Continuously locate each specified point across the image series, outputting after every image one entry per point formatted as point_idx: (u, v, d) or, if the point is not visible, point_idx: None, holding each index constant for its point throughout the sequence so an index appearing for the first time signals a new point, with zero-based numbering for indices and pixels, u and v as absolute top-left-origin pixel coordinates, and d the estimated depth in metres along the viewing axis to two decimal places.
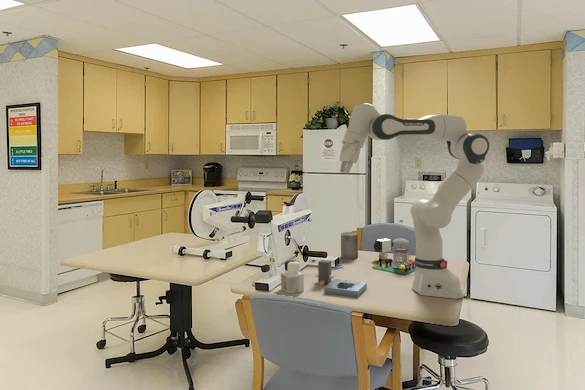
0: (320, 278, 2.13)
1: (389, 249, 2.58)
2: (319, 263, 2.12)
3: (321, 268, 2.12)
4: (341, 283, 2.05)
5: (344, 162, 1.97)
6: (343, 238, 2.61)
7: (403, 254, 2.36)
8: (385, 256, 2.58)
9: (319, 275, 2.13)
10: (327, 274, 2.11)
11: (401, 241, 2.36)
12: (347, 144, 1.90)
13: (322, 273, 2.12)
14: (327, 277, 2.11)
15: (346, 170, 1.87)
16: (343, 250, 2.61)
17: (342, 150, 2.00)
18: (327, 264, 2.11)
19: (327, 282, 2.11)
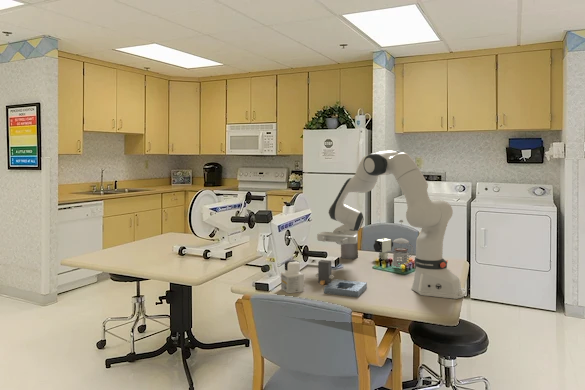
0: (320, 278, 2.13)
1: (389, 249, 2.58)
2: (319, 263, 2.12)
3: (321, 268, 2.12)
4: (341, 283, 2.05)
5: None
6: None
7: (403, 254, 2.36)
8: (385, 256, 2.58)
9: (319, 275, 2.13)
10: (327, 274, 2.11)
11: (401, 241, 2.36)
12: None
13: (322, 273, 2.12)
14: (327, 277, 2.11)
15: None
16: (343, 250, 2.61)
17: None
18: (327, 264, 2.11)
19: (327, 282, 2.11)
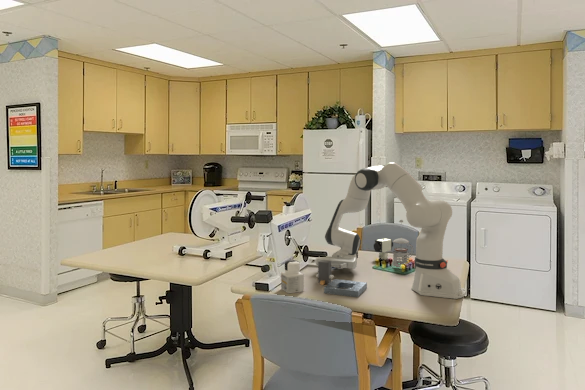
0: (320, 278, 2.13)
1: (389, 249, 2.58)
2: (319, 263, 2.12)
3: (321, 268, 2.12)
4: (341, 283, 2.05)
5: None
6: None
7: (403, 254, 2.36)
8: (385, 256, 2.58)
9: (319, 275, 2.13)
10: (327, 274, 2.11)
11: (401, 241, 2.36)
12: None
13: (322, 273, 2.12)
14: (327, 277, 2.11)
15: None
16: None
17: None
18: (327, 264, 2.11)
19: (327, 282, 2.11)
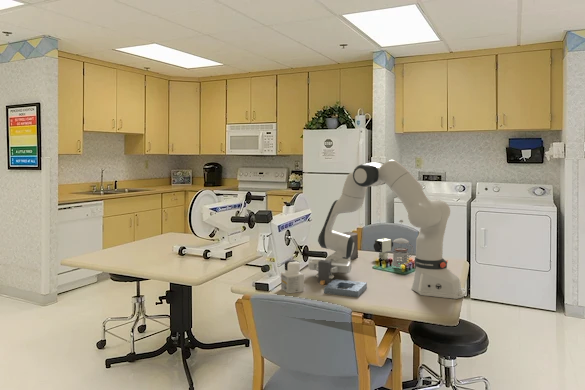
0: (320, 278, 2.13)
1: (389, 249, 2.58)
2: (319, 263, 2.12)
3: (321, 268, 2.12)
4: (341, 283, 2.05)
5: None
6: None
7: (403, 254, 2.36)
8: (385, 256, 2.58)
9: (319, 275, 2.13)
10: (327, 274, 2.11)
11: (401, 241, 2.36)
12: None
13: (322, 273, 2.12)
14: (327, 277, 2.11)
15: None
16: None
17: None
18: (327, 264, 2.11)
19: (327, 282, 2.11)
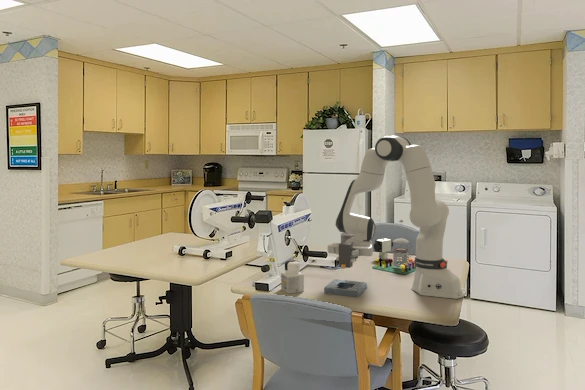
0: (341, 262, 1.99)
1: (389, 249, 2.58)
2: (340, 245, 1.99)
3: (341, 251, 1.99)
4: (341, 283, 2.05)
5: None
6: (343, 238, 2.61)
7: (403, 254, 2.36)
8: (385, 256, 2.58)
9: (340, 258, 1.99)
10: (348, 257, 1.98)
11: (401, 241, 2.36)
12: None
13: (343, 256, 1.98)
14: (348, 260, 1.98)
15: None
16: None
17: None
18: (348, 246, 1.97)
19: (348, 266, 1.98)
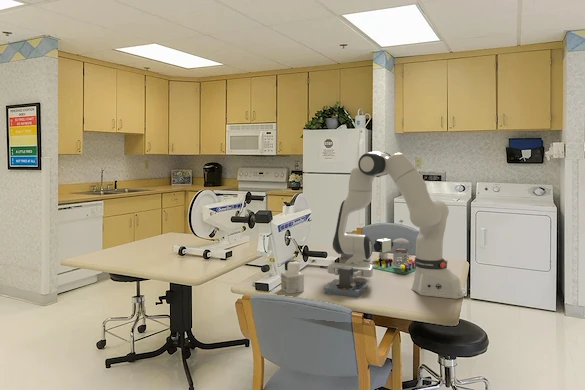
0: (341, 286, 2.00)
1: (389, 249, 2.58)
2: (340, 270, 1.99)
3: (342, 276, 1.99)
4: None
5: None
6: None
7: (403, 254, 2.36)
8: (385, 256, 2.58)
9: (340, 283, 2.00)
10: (349, 282, 1.98)
11: (401, 241, 2.36)
12: None
13: (343, 280, 1.99)
14: (349, 285, 1.98)
15: None
16: None
17: None
18: (349, 271, 1.98)
19: None
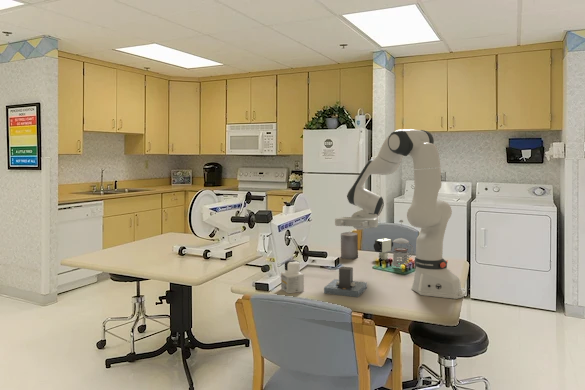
0: (341, 286, 2.00)
1: (389, 249, 2.58)
2: (340, 270, 1.99)
3: (342, 276, 1.99)
4: None
5: None
6: (343, 238, 2.61)
7: (403, 254, 2.36)
8: (385, 256, 2.58)
9: (340, 283, 2.00)
10: (349, 282, 1.98)
11: (401, 241, 2.36)
12: None
13: (343, 280, 1.99)
14: (349, 285, 1.98)
15: None
16: (343, 250, 2.61)
17: None
18: (349, 271, 1.98)
19: None
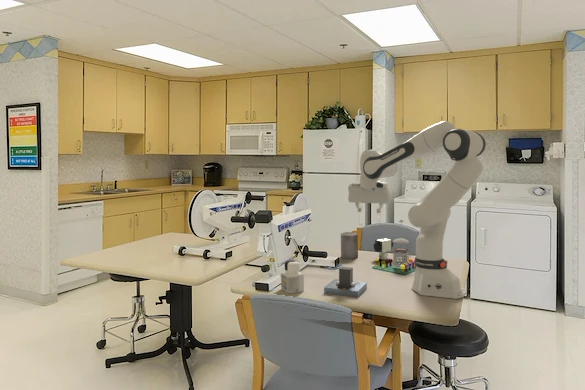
0: (341, 286, 2.00)
1: (389, 249, 2.58)
2: (340, 270, 1.99)
3: (342, 276, 1.99)
4: None
5: None
6: (343, 238, 2.61)
7: (403, 254, 2.36)
8: (385, 256, 2.58)
9: (340, 283, 2.00)
10: (349, 282, 1.98)
11: (401, 241, 2.36)
12: None
13: (343, 280, 1.99)
14: (349, 285, 1.98)
15: None
16: (343, 250, 2.61)
17: None
18: (349, 271, 1.98)
19: None
